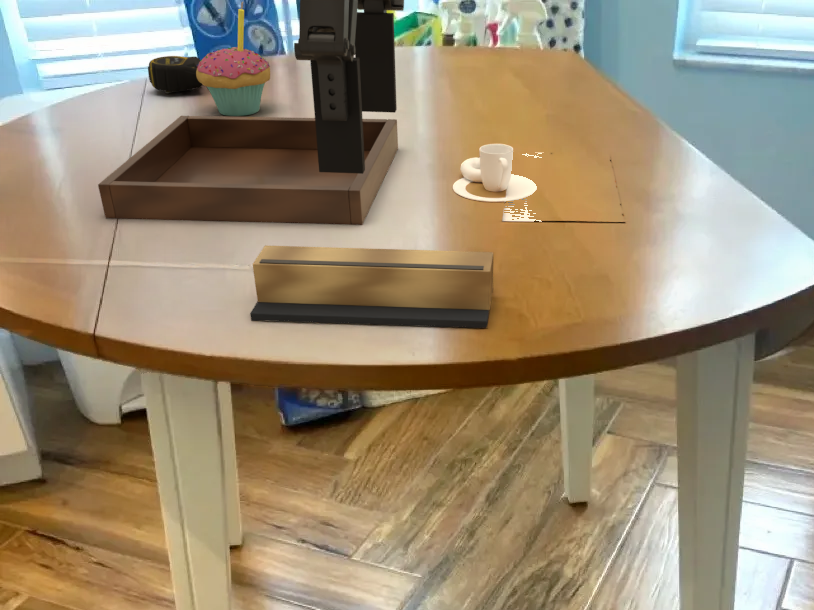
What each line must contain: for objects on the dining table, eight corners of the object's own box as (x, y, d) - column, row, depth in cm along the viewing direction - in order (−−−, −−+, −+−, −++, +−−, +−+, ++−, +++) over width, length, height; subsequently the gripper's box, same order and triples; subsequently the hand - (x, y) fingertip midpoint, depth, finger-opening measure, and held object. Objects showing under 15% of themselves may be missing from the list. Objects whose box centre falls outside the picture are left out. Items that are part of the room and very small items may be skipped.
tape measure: (205, 95, 121) (200, 64, 119) (149, 98, 120) (143, 67, 118) (207, 83, 127) (202, 53, 125) (153, 85, 126) (148, 55, 124)
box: (106, 223, 85) (97, 184, 83) (186, 148, 103) (180, 115, 101) (362, 230, 83) (360, 190, 81) (398, 153, 101) (397, 119, 99)
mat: (250, 320, 69) (249, 313, 68) (274, 280, 75) (273, 273, 74) (487, 328, 68) (487, 320, 67) (493, 287, 73) (493, 279, 73)
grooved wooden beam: (257, 302, 70) (251, 262, 68) (269, 282, 73) (264, 244, 71) (489, 310, 69) (490, 270, 67) (493, 289, 71) (493, 250, 70)
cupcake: (274, 100, 119) (262, -6, 112) (275, 119, 112) (262, 7, 105) (203, 104, 118) (187, -3, 111) (200, 123, 111) (182, 10, 104)
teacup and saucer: (455, 175, 95) (455, 133, 93) (536, 176, 95) (537, 134, 92) (449, 206, 88) (449, 161, 85) (537, 207, 87) (538, 162, 85)
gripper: (371, -269, 42) (389, 205, 54) (434, -249, 62) (437, 92, 74) (202, -270, 42) (257, 200, 54) (320, -250, 63) (341, 89, 75)
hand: (361, 138), depth 64 cm, fingers open, 13 cm apart
